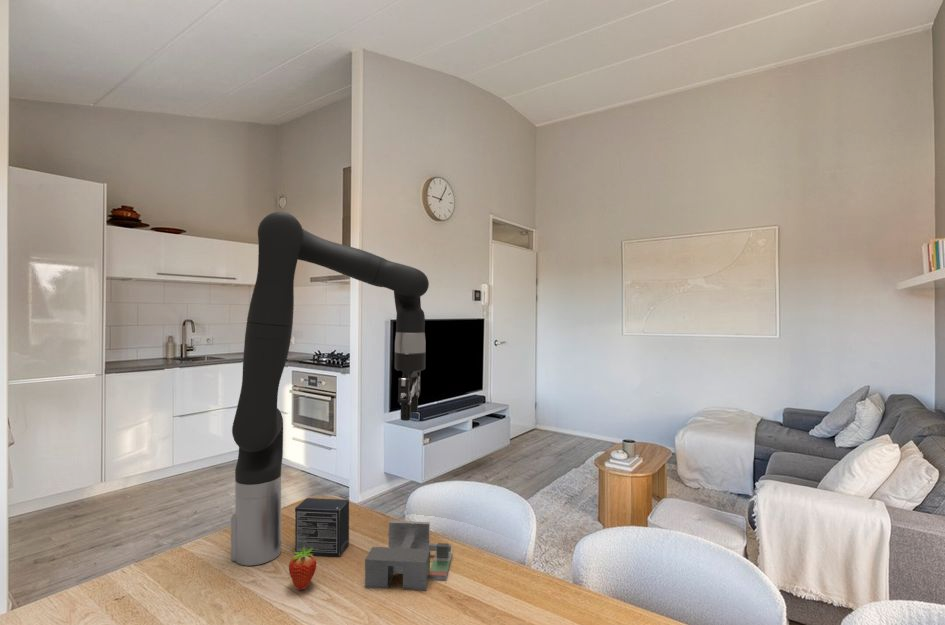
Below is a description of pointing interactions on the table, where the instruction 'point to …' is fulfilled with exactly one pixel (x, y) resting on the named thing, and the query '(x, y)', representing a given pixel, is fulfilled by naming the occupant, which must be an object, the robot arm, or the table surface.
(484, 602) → the table surface
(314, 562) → the fruit
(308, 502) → the small box
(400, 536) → the push plate
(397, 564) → the gauge base
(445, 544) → the block
